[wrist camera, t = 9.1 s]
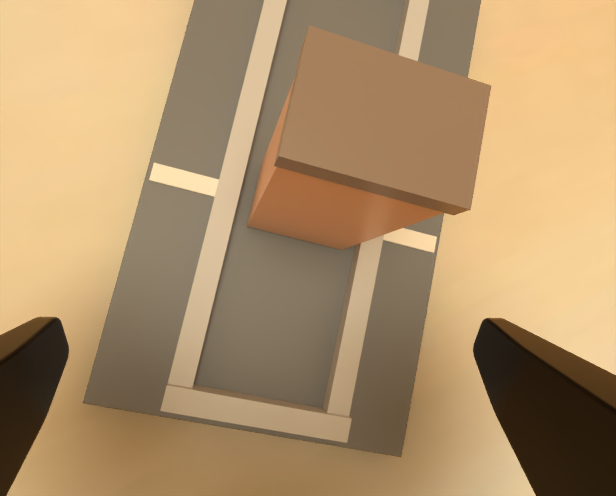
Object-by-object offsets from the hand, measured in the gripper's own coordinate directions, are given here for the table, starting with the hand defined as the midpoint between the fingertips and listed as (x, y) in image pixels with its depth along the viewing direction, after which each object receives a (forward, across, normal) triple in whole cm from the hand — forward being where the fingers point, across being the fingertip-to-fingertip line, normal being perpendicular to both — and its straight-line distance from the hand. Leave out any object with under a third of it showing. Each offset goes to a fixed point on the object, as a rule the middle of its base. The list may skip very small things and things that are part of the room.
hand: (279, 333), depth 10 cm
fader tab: (+11, +1, -3) cm, 12 cm away
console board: (+14, +2, -2) cm, 14 cm away
